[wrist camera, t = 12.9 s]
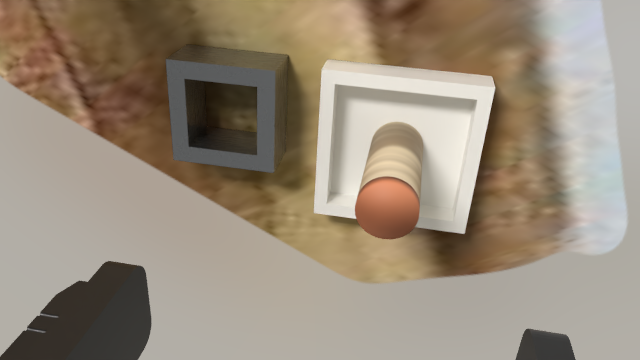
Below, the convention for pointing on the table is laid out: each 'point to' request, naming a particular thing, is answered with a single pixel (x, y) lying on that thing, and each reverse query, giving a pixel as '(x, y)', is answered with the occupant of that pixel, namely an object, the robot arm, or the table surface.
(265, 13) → the table surface
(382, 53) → the table surface
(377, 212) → the pin
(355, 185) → the tray
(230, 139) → the socket block
